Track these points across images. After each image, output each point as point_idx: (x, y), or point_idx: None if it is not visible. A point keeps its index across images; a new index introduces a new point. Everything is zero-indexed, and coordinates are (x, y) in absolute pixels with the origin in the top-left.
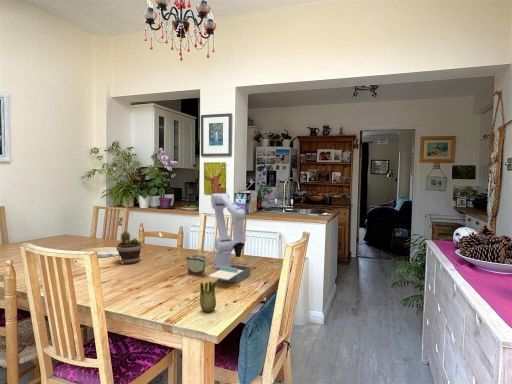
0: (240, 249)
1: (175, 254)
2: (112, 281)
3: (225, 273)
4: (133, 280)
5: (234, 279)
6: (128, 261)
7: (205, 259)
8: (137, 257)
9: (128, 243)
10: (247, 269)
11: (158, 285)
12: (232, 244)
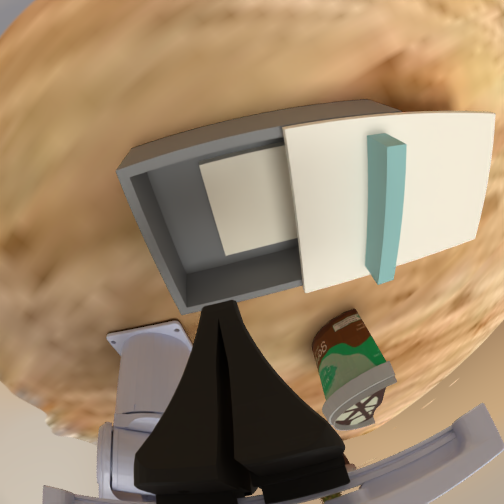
0: (255, 384)
1: None
2: (441, 376)
3: (426, 193)
4: (431, 369)
5: None
6: None
7: (377, 383)
8: None
9: None
10: (177, 149)
11: (458, 318)
12: (485, 428)
